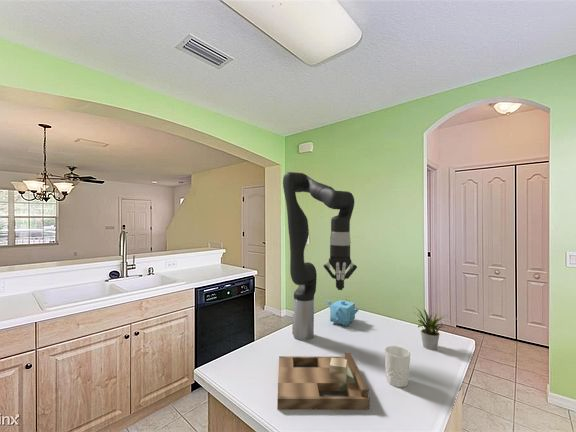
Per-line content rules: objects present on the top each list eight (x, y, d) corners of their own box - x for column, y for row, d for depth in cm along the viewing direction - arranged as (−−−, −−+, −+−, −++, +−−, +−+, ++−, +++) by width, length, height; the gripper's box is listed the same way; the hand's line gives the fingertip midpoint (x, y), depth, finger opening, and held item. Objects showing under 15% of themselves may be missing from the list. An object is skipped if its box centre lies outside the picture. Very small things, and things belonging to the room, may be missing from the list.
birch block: (329, 381, 88) (329, 365, 88) (331, 372, 93) (331, 357, 93) (345, 383, 87) (345, 367, 87) (346, 374, 91) (346, 359, 91)
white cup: (408, 377, 96) (409, 348, 96) (411, 390, 88) (411, 359, 88) (384, 373, 98) (384, 344, 98) (384, 385, 91) (384, 354, 91)
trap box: (277, 409, 79) (277, 391, 79) (279, 364, 103) (279, 350, 103) (369, 409, 79) (369, 391, 79) (349, 364, 103) (349, 351, 103)
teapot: (353, 331, 134) (353, 307, 134) (319, 323, 144) (319, 301, 144) (363, 321, 147) (363, 299, 147) (332, 314, 157) (332, 294, 157)
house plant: (401, 344, 121) (401, 306, 121) (418, 336, 129) (418, 300, 129) (435, 357, 109) (435, 315, 109) (451, 348, 117) (452, 309, 117)
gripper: (355, 242, 110) (354, 287, 110) (321, 242, 110) (321, 287, 110) (360, 244, 102) (359, 292, 102) (324, 244, 102) (323, 292, 102)
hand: (339, 289), depth 106 cm, fingers closed
